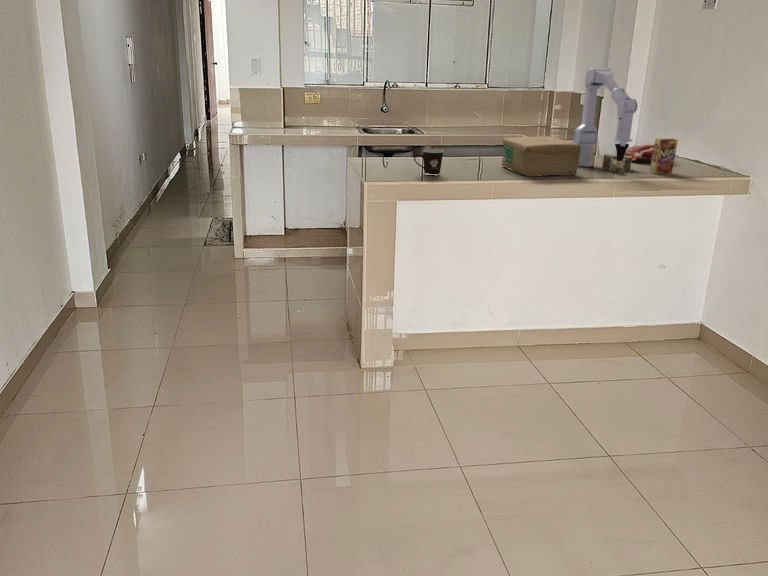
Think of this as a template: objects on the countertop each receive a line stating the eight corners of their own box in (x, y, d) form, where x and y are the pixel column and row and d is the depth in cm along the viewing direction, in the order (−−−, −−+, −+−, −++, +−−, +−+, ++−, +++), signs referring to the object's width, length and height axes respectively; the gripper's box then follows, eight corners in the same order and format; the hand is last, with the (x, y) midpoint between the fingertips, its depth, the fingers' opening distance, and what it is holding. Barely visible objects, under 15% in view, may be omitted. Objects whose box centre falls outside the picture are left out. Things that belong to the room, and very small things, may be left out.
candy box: (654, 174, 298) (660, 139, 292) (649, 172, 301) (654, 138, 296) (672, 173, 299) (678, 139, 294) (666, 172, 303) (672, 137, 298)
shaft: (611, 172, 298) (612, 161, 296) (610, 168, 307) (612, 157, 305) (622, 172, 296) (624, 161, 295) (621, 168, 305) (623, 158, 304)
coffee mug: (444, 173, 289) (445, 150, 286) (439, 177, 282) (440, 153, 278) (418, 171, 293) (419, 148, 289) (412, 175, 285) (413, 151, 282)
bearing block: (602, 169, 307) (604, 156, 305) (602, 167, 312) (604, 154, 310) (630, 171, 304) (632, 157, 302) (629, 168, 309) (631, 155, 307)
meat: (624, 163, 323) (627, 142, 320) (620, 157, 343) (623, 137, 339) (670, 166, 319) (673, 145, 315) (664, 159, 338) (667, 139, 334)
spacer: (609, 170, 304) (610, 158, 302) (609, 170, 306) (610, 158, 304) (623, 171, 302) (625, 159, 301) (623, 171, 304) (625, 159, 302)
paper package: (498, 166, 309) (500, 136, 304) (549, 165, 315) (552, 135, 310) (523, 178, 285) (526, 144, 280) (578, 176, 291) (582, 143, 286)
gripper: (635, 131, 278) (630, 164, 282) (633, 127, 291) (628, 158, 295) (617, 130, 279) (612, 163, 284) (615, 126, 293) (611, 157, 297)
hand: (619, 160), depth 290 cm, fingers closed
